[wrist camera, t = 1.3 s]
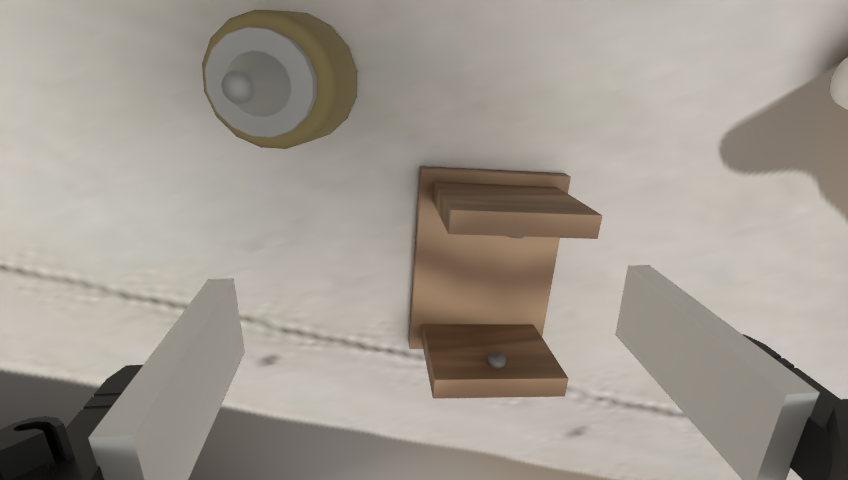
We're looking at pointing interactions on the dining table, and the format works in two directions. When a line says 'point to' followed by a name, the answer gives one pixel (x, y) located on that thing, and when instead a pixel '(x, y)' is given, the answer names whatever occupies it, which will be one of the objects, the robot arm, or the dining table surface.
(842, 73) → the mug
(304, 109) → the squeeze bottle
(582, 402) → the dining table surface
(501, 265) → the holder
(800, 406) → the robot arm
